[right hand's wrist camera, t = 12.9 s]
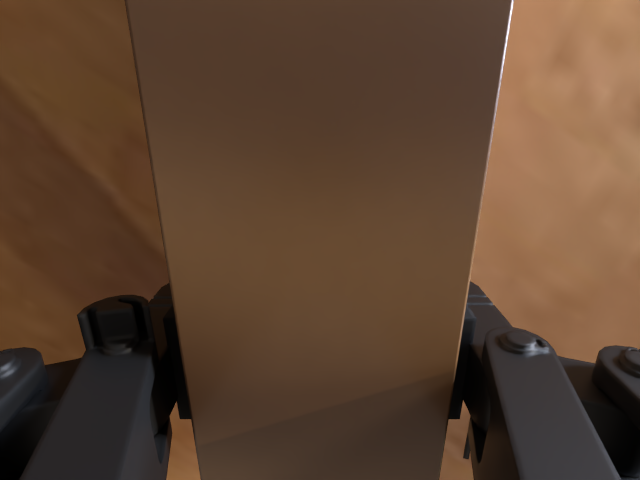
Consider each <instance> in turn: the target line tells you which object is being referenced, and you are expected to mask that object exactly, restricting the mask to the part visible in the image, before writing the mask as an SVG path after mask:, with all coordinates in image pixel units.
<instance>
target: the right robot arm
mask: <svg viewBox="0 0 640 480" xmlns="http://www.w3.org/2000/svg"><path fill="white" fill-rule="evenodd" d="M77 317H78V321H79V325H80V329H81V332H82V336H83V340H84V344H85V347H86V351H85V353H84V355H83V357H82V358H79V359H75V360H70V361H65V362H59V363H54V364H49V365H44V361H43V358H42V355H41V353H40V352H39V351H37V350H36V349H33V348H26V347H23V348H15V349H7V350H3V351H0V480H166V477H167V469H168V462H169V454H170V446H171V438H172V428H171V422H170V417H169V416H170V414H171V412H172V410H173V407H174V405H175V403H176V401H177V405H178V411H179V417H180V419H191V414H190V408H189V401H188V395H187V389H186V383H185V376H184V370H183V364H182V357H181V351H180V345H179V338H178V332H177V326H176V320H175V313H174V307H173V301H172V294H171V288H170V283H168V284H166V285H165V286H163V287H161V289H160V290H159V291H158V292H157V293H156V295H155V296H154V298H153V299H151V301H150V302H149V303H148V300H146V299H145V298H144V297H141V296H136V295H120V296H114V297H109V298H106V299H103V300H100V301H97V302H94V303H93V304H91V305H89V306H87V307H85V308H84V309H83V310H82V311H81V312H80V313H79V314H78V315H77ZM463 400H464V402H465V404H466V406H467V409H468V411H469V413H470V415H471V417H470V422H469V428H468V433H467V438H466V444H465V449H464V456H463V458H465V459H469V454H470V453H471V461H472V468H473V476H474V480H640V349H639V350H638V349H637V348H633V347H624V346H608V347H604V348H603V349H601V350H600V351H599V353H598V356H597V360H596V363H589V362H584V361H579V360H574V359H569V358H564V357H560V356H557V354H556V352H555V351H554V349H553V348H552V347H551V345H550V344H549V343H548V342H547V341H545V340H544V339H542V338H541V337H539V336H538V335H536V334H533V333H531V332H529V331H526V330H523V329H518V328H514V327H512V326H511V324H510V323H509V322H508V321H507V320H506V318H505V317H504V316H503V315H502V314H501V313H500V311H499V310H498V309H497V308H496V307H495V305H493V303H492V302H491V301H490V299H489V298H488V297H486V295H485V294H484V292H483V291H482V290H481V289H480V288H479V286H477V285H475V284H474V283H472V282H470V284H469V290H468V297H467V303H466V309H465V316H464V322H463V329H462V335H461V341H460V348H459V354H458V361H457V367H456V373H455V380H454V386H453V393H452V399H451V406H450V412H449V418H448V419H460V414H461V408H462V402H463Z"/></svg>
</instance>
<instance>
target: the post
mask: <svg viewBox="0 0 640 480" xmlns="http://www.w3.org/2000/svg"><path fill="white" fill-rule="evenodd" d="M513 2H514V0H125V5H126V11H127V17H128V24H129V30H130V36H131V43H132V49H133V55H134V61H135V68H136V74H137V80H138V87H139V93H140V99H141V105H142V112H143V118H144V124H145V131H146V137H147V143H148V150H149V156H150V162H151V168H152V175H153V181H154V187H155V194H156V200H157V206H158V213H159V219H160V225H161V231H162V238H163V244H164V250H165V257H166V263H167V269H168V276H169V282H170V288H171V294H172V301H173V307H174V313H175V320H176V326H177V332H178V338H179V345H180V351H181V357H182V364H183V370H184V376H185V383H186V389H187V395H188V401H189V408H190V414H191V420H192V427H193V433H194V439H195V446H196V452H197V458H198V464H199V471H200V477H201V480H439V476H440V470H441V463H442V457H443V450H444V444H445V438H446V431H447V425H448V418H449V412H450V406H451V399H452V393H453V386H454V380H455V373H456V367H457V361H458V354H459V348H460V341H461V335H462V329H463V322H464V316H465V309H466V303H467V297H468V290H469V284H470V277H471V271H472V265H473V258H474V252H475V245H476V239H477V233H478V226H479V220H480V213H481V207H482V201H483V194H484V188H485V181H486V175H487V169H488V162H489V156H490V149H491V143H492V137H493V130H494V124H495V117H496V111H497V104H498V98H499V92H500V85H501V79H502V72H503V66H504V60H505V53H506V47H507V40H508V34H509V28H510V21H511V15H512V8H513Z"/></svg>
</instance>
